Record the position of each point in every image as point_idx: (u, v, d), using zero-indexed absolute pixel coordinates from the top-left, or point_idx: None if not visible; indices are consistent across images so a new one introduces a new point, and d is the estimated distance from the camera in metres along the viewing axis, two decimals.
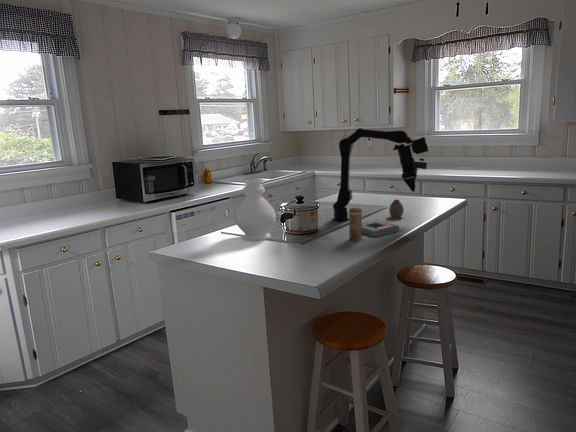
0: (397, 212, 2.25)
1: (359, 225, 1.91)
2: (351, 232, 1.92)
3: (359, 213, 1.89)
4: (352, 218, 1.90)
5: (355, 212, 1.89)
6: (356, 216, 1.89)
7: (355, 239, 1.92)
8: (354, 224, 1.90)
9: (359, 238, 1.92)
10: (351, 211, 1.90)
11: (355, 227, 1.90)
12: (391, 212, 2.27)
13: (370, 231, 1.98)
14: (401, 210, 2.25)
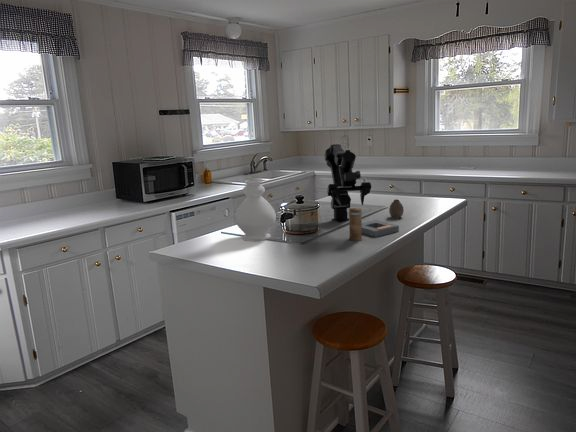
0: (397, 212, 2.25)
1: (359, 225, 1.91)
2: (351, 232, 1.92)
3: (359, 213, 1.89)
4: (352, 218, 1.90)
5: (355, 212, 1.89)
6: (356, 216, 1.89)
7: (355, 239, 1.92)
8: (354, 224, 1.90)
9: (359, 238, 1.92)
10: (351, 211, 1.90)
11: (355, 227, 1.90)
12: (391, 212, 2.27)
13: (370, 231, 1.98)
14: (401, 210, 2.25)
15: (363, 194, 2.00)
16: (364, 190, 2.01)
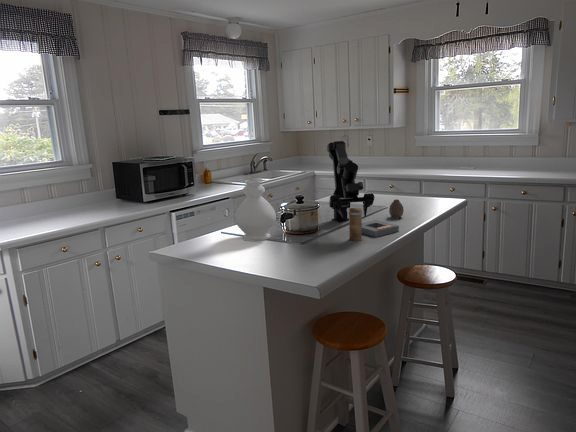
0: (397, 212, 2.25)
1: (359, 225, 1.91)
2: (351, 232, 1.92)
3: (359, 213, 1.89)
4: (352, 218, 1.90)
5: (355, 212, 1.89)
6: (356, 216, 1.89)
7: (355, 239, 1.92)
8: (354, 224, 1.90)
9: (359, 238, 1.92)
10: (351, 211, 1.90)
11: (355, 227, 1.90)
12: (391, 212, 2.27)
13: (370, 231, 1.98)
14: (401, 210, 2.25)
15: (366, 206, 1.95)
16: (367, 201, 1.95)
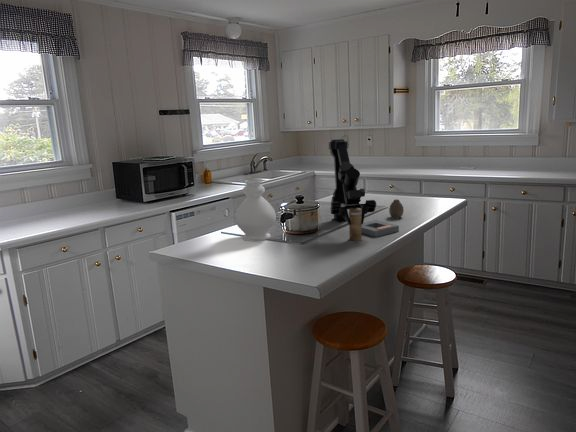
0: (397, 212, 2.25)
1: (359, 225, 1.91)
2: (351, 232, 1.92)
3: (359, 213, 1.89)
4: (352, 218, 1.90)
5: (355, 212, 1.89)
6: (356, 216, 1.89)
7: (355, 239, 1.92)
8: (354, 224, 1.90)
9: (359, 238, 1.92)
10: (351, 211, 1.90)
11: (355, 227, 1.90)
12: (391, 212, 2.27)
13: (370, 231, 1.98)
14: (401, 210, 2.25)
15: (363, 213, 1.92)
16: (364, 209, 1.93)
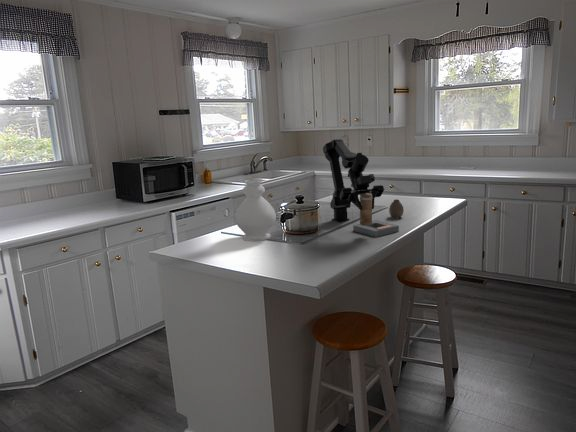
0: (397, 212, 2.25)
1: (370, 210, 1.94)
2: (362, 217, 1.95)
3: (371, 198, 1.93)
4: (364, 203, 1.93)
5: (367, 197, 1.92)
6: (368, 201, 1.93)
7: (367, 224, 1.95)
8: (365, 209, 1.93)
9: (370, 223, 1.95)
10: (363, 196, 1.92)
11: (367, 212, 1.94)
12: (391, 212, 2.27)
13: (370, 231, 1.98)
14: (401, 210, 2.25)
15: (373, 198, 1.96)
16: (373, 194, 1.97)
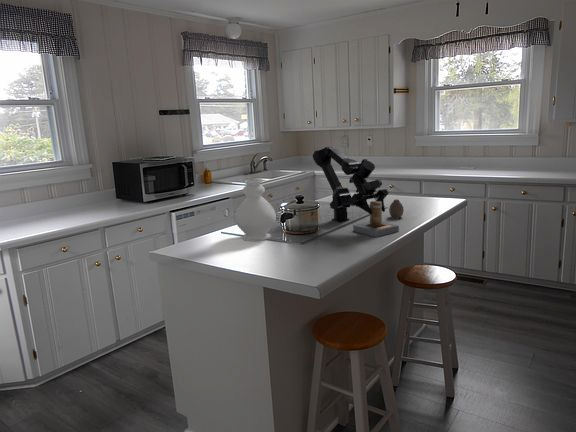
0: (397, 212, 2.25)
1: (381, 217, 2.03)
2: (374, 224, 2.03)
3: (381, 205, 2.02)
4: (375, 211, 2.01)
5: (378, 205, 2.01)
6: (379, 209, 2.01)
7: None
8: (377, 216, 2.02)
9: None
10: (374, 204, 2.01)
11: (378, 219, 2.02)
12: (391, 212, 2.27)
13: (370, 231, 1.98)
14: (401, 210, 2.25)
15: (382, 201, 2.06)
16: (382, 197, 2.06)
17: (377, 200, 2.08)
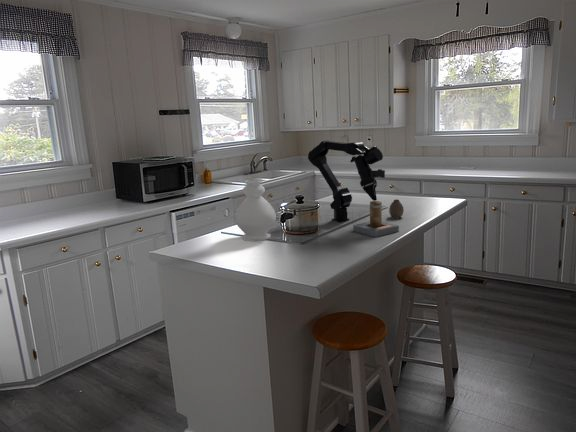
0: (397, 212, 2.25)
1: (381, 217, 2.03)
2: (374, 224, 2.03)
3: (381, 205, 2.02)
4: (375, 211, 2.01)
5: (378, 205, 2.01)
6: (379, 209, 2.01)
7: None
8: (377, 216, 2.02)
9: None
10: (374, 204, 2.01)
11: (378, 219, 2.02)
12: (391, 212, 2.27)
13: (370, 231, 1.98)
14: (401, 210, 2.25)
15: (375, 190, 2.16)
16: (375, 187, 2.17)
17: None
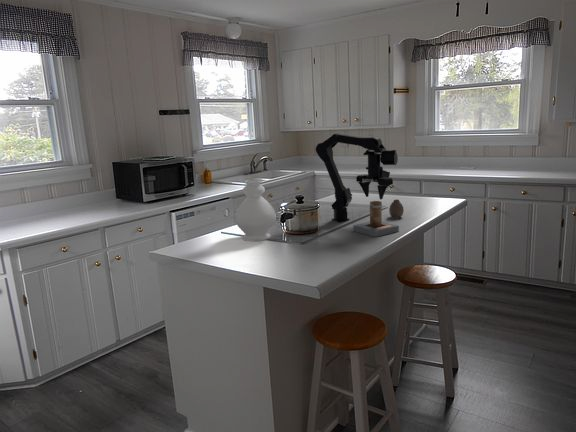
0: (397, 212, 2.25)
1: (381, 217, 2.03)
2: (374, 224, 2.03)
3: (381, 205, 2.02)
4: (375, 211, 2.01)
5: (378, 205, 2.01)
6: (379, 209, 2.01)
7: None
8: (377, 216, 2.02)
9: None
10: (374, 204, 2.01)
11: (378, 219, 2.02)
12: (391, 212, 2.27)
13: (370, 231, 1.98)
14: (401, 210, 2.25)
15: None
16: None
17: (365, 183, 2.19)
